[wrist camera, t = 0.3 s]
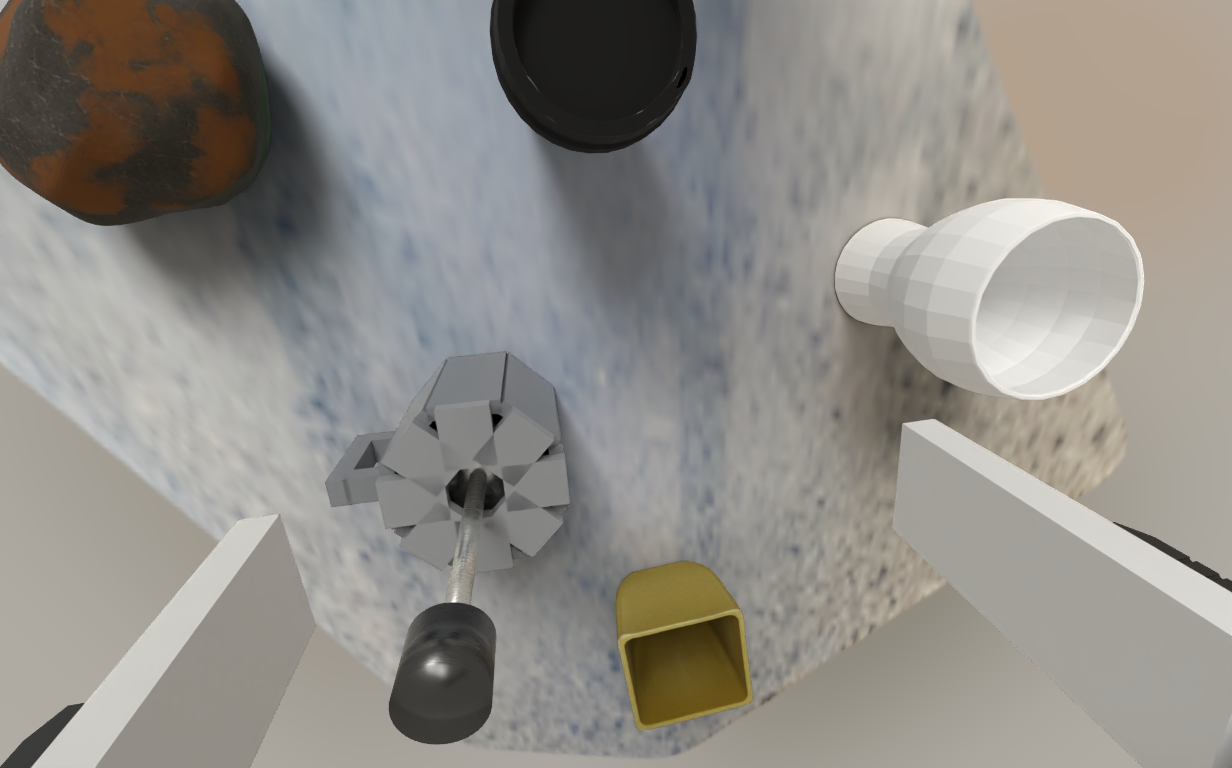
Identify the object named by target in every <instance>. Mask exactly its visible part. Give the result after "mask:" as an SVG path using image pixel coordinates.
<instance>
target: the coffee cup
mask: <svg viewBox="0 0 1232 768" xmlns="http://www.w3.org/2000/svg"><path fill="white" fill-rule="evenodd" d="M490 38H491V47H492V55H493V61H494V65H495V68H496V72H497V76H498V79H499V82H500V84H501V86H502V88H503V90H504V92H505V94H506V97H507V99H508V101H509V102H510V104H511V105H512V106H513V108H514V109H515V110H516V112H517V113H518V115H519V116H520V117H521V119H522V120H524V121H525V122H526V123H527V124H528V125H529V126H530V127H531V128H532V129H533V130H534V131H535V132H536V133H538V134H539V135H541V136H542V137H544V138H545V139H547V140H548V141H550V142H551V143H553V144H556V145H558V146H561V147H564V148H566V149H569V150H572V151H578V152H584V153H608V152H611V151H615V150H619V149H623V148H626V147H628V146H630V145H632V144H634V143H636V142H638V141H640V140H642V139H643V138H645V137H646V136H647V135H649V134H650V133H651V132H653V131H654V130H655V129H656V128H658V127H659V126H660V125H661V124H662V123H663V122H664V121H665V119H666V118H667V117H668V116H669V115H670V114H671V113H672V111H673V110H674V108H675V106H676V105H677V103H678V101H679V99H680V98H681V96H682V94H683V92H684V90H685V89H686V87H687V86H688V84H689V82H690V79H691V76H692V71H693V66H694V60H695V52H696V39H697V28H696V14H695V10H694V5H693V1H692V0H493V4H492V8H491V21H490Z"/></svg>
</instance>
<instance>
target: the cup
mask: <svg viewBox="0 0 1232 768" xmlns="http://www.w3.org/2000/svg"><path fill="white" fill-rule="evenodd" d="M1143 287H1144V272H1143V265H1142V257H1141V255H1140V253H1139V250H1138V249H1137V247H1136V244H1135V242H1134V240H1133V238H1132V237H1131V235H1129V234H1128V232H1127V231H1126V230H1124V228H1123V227H1122V226H1121V225H1119V223H1118V222H1116V221H1114V220H1112V219H1110V218H1108V217H1105V216H1103V215H1101V214H1099V213H1096V212H1093V211H1090V210H1086V209H1083V208H1080V207H1077V206H1074V205H1071V204H1067V203H1064V202H1061V201H1056V200H1046V199H1000V200H995V201H991V202H986V203H981V204H978V205H976V206H973V207H970V208H968V209H965V210H962V211H959V212H957V213H954V214H952V215H950V216H948V217H946V218H944V219H942V220H940V221H938V222H936V223H935V224H933V225H932V226H931V227H929V228H927V227H924V226H922V225H919V224H916V223H914V222H911V221H907V220H903V219H893V218H887V219H883V220H878V221H875V222H873V223H871V224H869V225H867V226H865V227H863V228H862V229H861V230H860V231H858V232H857V233H856V234H855V235H854V236H853V237H852V238H851V239H850V240H849V242H848V243H847V245H846V246H845V247H844V249H843V251H842V253H841V255H840V258H839V260H838V262H837V267H836V272H835V291H836V293H837V296H838V299H839V302H840V304H841V305H842V307H843V308H844V310H845V311H846V312H847V313H848V314H849V315H851V316H852V317H853V318H855V319H856V320H858V321H861V322H864V323H867V324H872V325H878V326H890V327H894V328H895V330H896V333H897V335H898V336H899V338H900V339H901V341H902V342H903V344H904V345H905V347H906V348H907V349H908V350H909V351H910V353H911V354H912V355H913V356H914V357H915V358H916V359H917V360H918V361H919V362H920V364H921V365H922V366H924V367H925V368H926V369H928V370H929V371H930V372H932V373H933V374H934V375H936V376H937V377H939V378H941V379H943V380H945V381H947V382H950V383H952V384H954V385H956V386H958V387H961V388H963V389H966V390H969V391H972V392H975V393H978V394H982V395H989V396H996V397H1004V398H1011V399H1018V400H1043V399H1047V398H1051V397H1055V396H1059V395H1063V394H1065V393H1067V392H1069V391H1071V390H1073V389H1075V388H1077V387H1079V386H1081V385H1083V384H1085V383H1086V382H1087V381H1088V380H1090V379H1091V378H1092V377H1093V376H1095V375H1096V374H1097V373H1098V372H1100V371H1101V370H1102V369H1103V368H1104V367H1105V366H1106V365H1107V364H1108V363H1109V361H1110V360H1111V359H1112V358H1113V357H1114V356H1115V355H1116V353H1117V352H1118V351H1119V350H1120V349H1121V347H1122V345H1123V343H1124V342H1125V340H1126V338H1127V337H1128V335H1129V333H1130V332H1131V330H1132V328H1133V326H1134V323H1135V321H1136V318H1137V315H1138V311H1139V309H1140V306H1141V303H1142V295H1143Z"/></svg>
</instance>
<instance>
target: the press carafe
mask: <svg viewBox="0 0 1232 768" xmlns="http://www.w3.org/2000/svg"><path fill="white" fill-rule="evenodd" d="M493 424H497V425H496V426H495V428H494V425H493ZM376 462H379V465H378V467H374V466H375V464H376ZM478 467H485V468H486V469H488V470H489V471H491V472H492V473H494V474H495V475H497V476H498V477H500V478H501V479H503V484H504V491H505V495H504V496H503V498H502V499H501V500H500V501H499V502H498V503H497V505H496V506H495V507H494V508H493V509H492V510H484V511H483V514H482V522H481V530H480V537H479V545H478V552H477V560H476V567H475V573H480V572H487V571H494V570H500V569H507V568H513V559H515V558H521V557H523V554H524V555H527V554H528V555H530V556H531V557H534V555H535V554H536V553H537V552H538V551H539V550H540V549H541V548H542V546H543V545H544V544H545V543H546V542H547V541H548V540H549V539H550V537H551V536H552V535H553V534H554V533H555V532H556V531H557V530H558V528H559V527H560V526H561V525H562V524H563V513H564V512H565V511H566V510H567V509H568V505H569V504H570V498H569V489H568V480H567V470H566V461H565V454H564V453H563V444H562V437H561V431H560V424H559V417H558V411H557V404H556V398H555V391H554V388H553V385H552V384H550V383H549V382H548V381H546V380H545V379H544V378H542V377H541V376H540V375H538V374H537V373H536V372H534V371H533V370H532V369H530V368H529V367H528V366H526V365H525V364H524V363H522V362H521V361H520V360H518V359H517V358H516V357H514V356H513V355H512V354H510V353H508V354H507V356H506V352H497V353H488V354H478V355H469V356H459V357H450V358H449V359H448V360H447V359H446V360H445V361H444V362H443V364H442V365H441V366H440V367H439V369H438V370H437V371H436V372H435V373H434V375H433V376H432V377H431V378H430V380H429V381H428V382H427V383H426V385H425V386H424V387H423V388H422V390H421V391H420V392H419V393H418V395H417V396H416V397H415V398H414V400H413V401H412V403H411V404H410V406H409V408H408V410H407V412H406V414H405V415H404V417H403V419H402V421H401V423H400V425H399V427H398V428H397V430H396V431H391V432H383V433H374V434H366V435H357V437H356V438H355V440H354V441H353V443H352V444H351V445H350V447H349V448H348V450H347V451H346V453H345V454H344V456H343V457H342V458H341V460H340V461H339V463H338V464H337V466H336V467H335V469H334V470H333V471H332V473H331V474H330V476H329V477H328V479H327V480H326V482H325V484H326V488H327V492H328V496H329V500H330V503H331V507H337V506H344V505H352V504H359V503H367V502H375V501H379V502H380V507H381V511H382V516H383V520H384V524H385V529H388V528H391V529H395V531H394V533H396V534H397V535H399V536H401V537H402V539H401V542H400V544H399V546H400V547H401V548H403V549H405V550H406V551H408V552H410V553H412V554H413V555H415V556H417V557H418V558H420V559H422V560H424V561H425V562H427V563H429V564H431V565H432V566H434V567H436V568H437V569H439V570H441V571H442V570H443V568H444V567H445V566H446V565H447V564H448V565H450V566H452V565H453V560H454V554H455V549H456V544H457V539H458V534H459V529H460V524H461V518H462V513H463V508H462V507H460V506H458V505H457V504H455V503H454V502H452V501H451V500H450V495H449V489H448V483H449V482H450V481H451V479H452V478H453V477H454V476H455V475H456V473H457V472H458V471H459V470H462V469H470V468H478Z"/></svg>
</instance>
